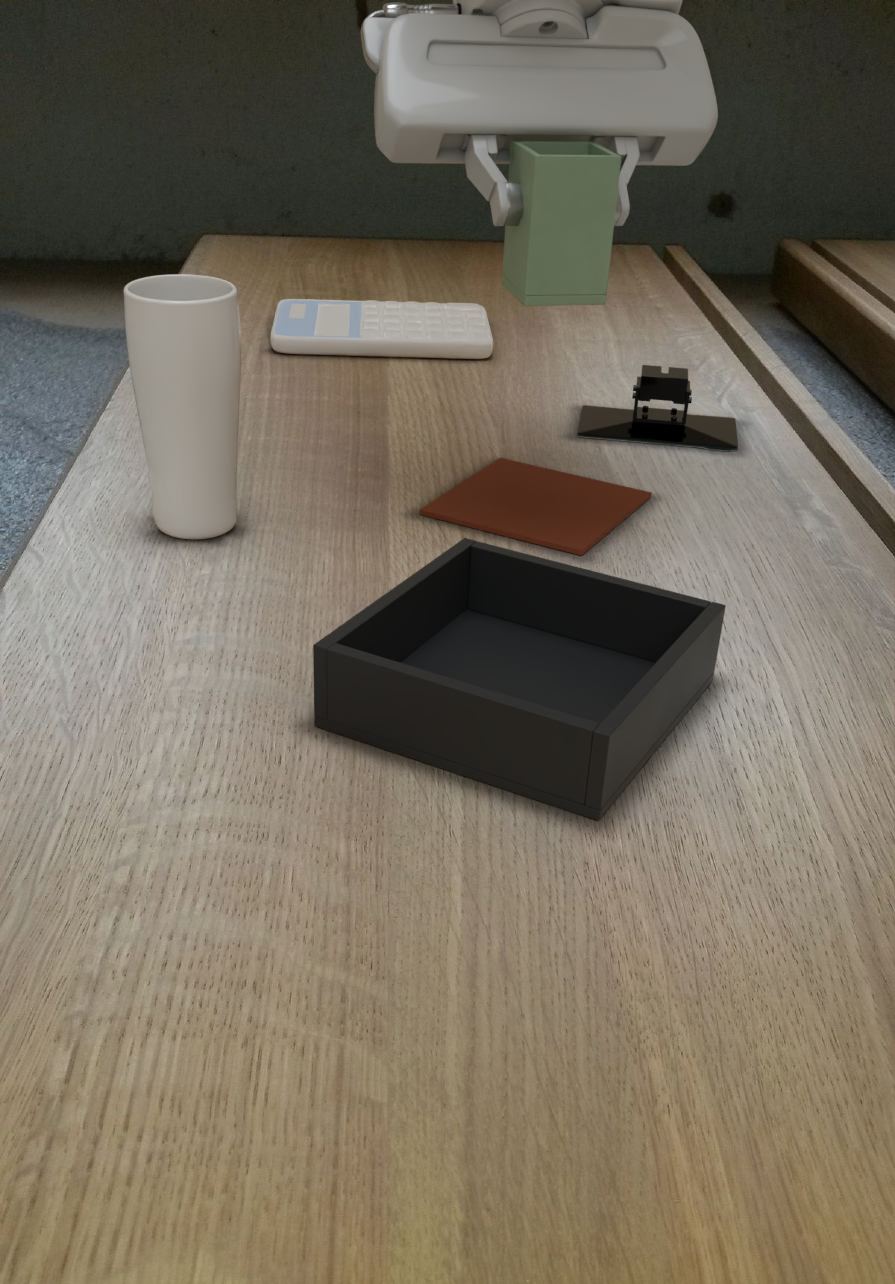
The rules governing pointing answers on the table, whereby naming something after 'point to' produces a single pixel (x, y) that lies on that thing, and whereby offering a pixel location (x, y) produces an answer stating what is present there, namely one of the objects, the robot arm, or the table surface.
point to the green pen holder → (561, 222)
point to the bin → (519, 673)
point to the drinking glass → (187, 397)
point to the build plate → (660, 416)
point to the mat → (538, 505)
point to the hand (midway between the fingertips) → (563, 220)
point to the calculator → (381, 329)
